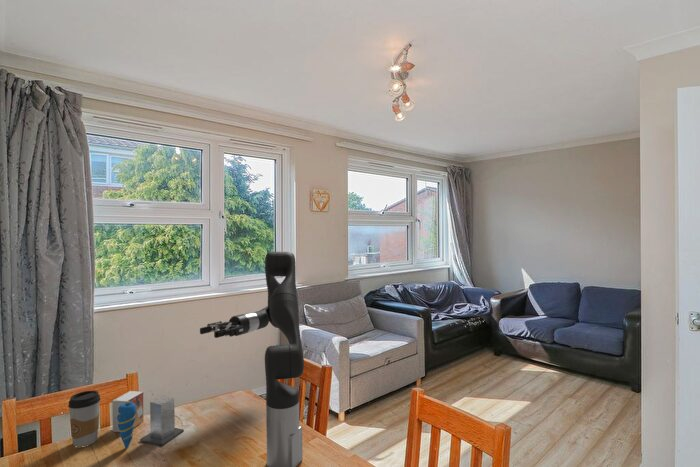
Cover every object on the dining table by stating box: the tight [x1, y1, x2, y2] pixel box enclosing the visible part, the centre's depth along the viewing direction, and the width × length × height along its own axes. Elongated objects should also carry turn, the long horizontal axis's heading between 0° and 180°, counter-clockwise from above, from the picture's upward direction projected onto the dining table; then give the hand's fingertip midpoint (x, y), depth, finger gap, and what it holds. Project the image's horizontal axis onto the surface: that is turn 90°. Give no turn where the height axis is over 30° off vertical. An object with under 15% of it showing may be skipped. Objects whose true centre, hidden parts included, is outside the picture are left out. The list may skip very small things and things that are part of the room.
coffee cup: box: [67, 390, 101, 447], centre depth 121 cm, size 8×8×15 cm
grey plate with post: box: [139, 427, 185, 447], centre depth 125 cm, size 9×9×7 cm
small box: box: [111, 390, 145, 433], centre depth 131 cm, size 8×6×10 cm
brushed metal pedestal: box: [149, 395, 176, 439], centre depth 125 cm, size 5×5×11 cm
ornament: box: [117, 399, 136, 449], centre depth 118 cm, size 5×5×15 cm
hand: (207, 333), depth 137 cm, fingers open, 8 cm apart
